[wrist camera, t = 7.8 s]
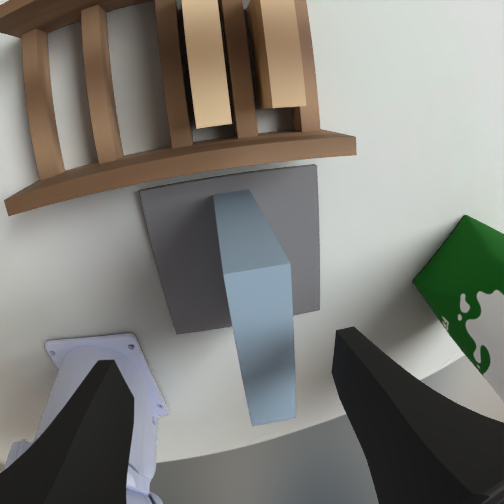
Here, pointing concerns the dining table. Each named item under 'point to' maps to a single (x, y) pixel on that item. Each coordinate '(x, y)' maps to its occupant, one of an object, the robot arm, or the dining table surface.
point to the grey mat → (207, 242)
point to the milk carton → (470, 295)
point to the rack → (183, 148)
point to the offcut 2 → (276, 53)
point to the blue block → (258, 306)
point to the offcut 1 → (206, 63)
